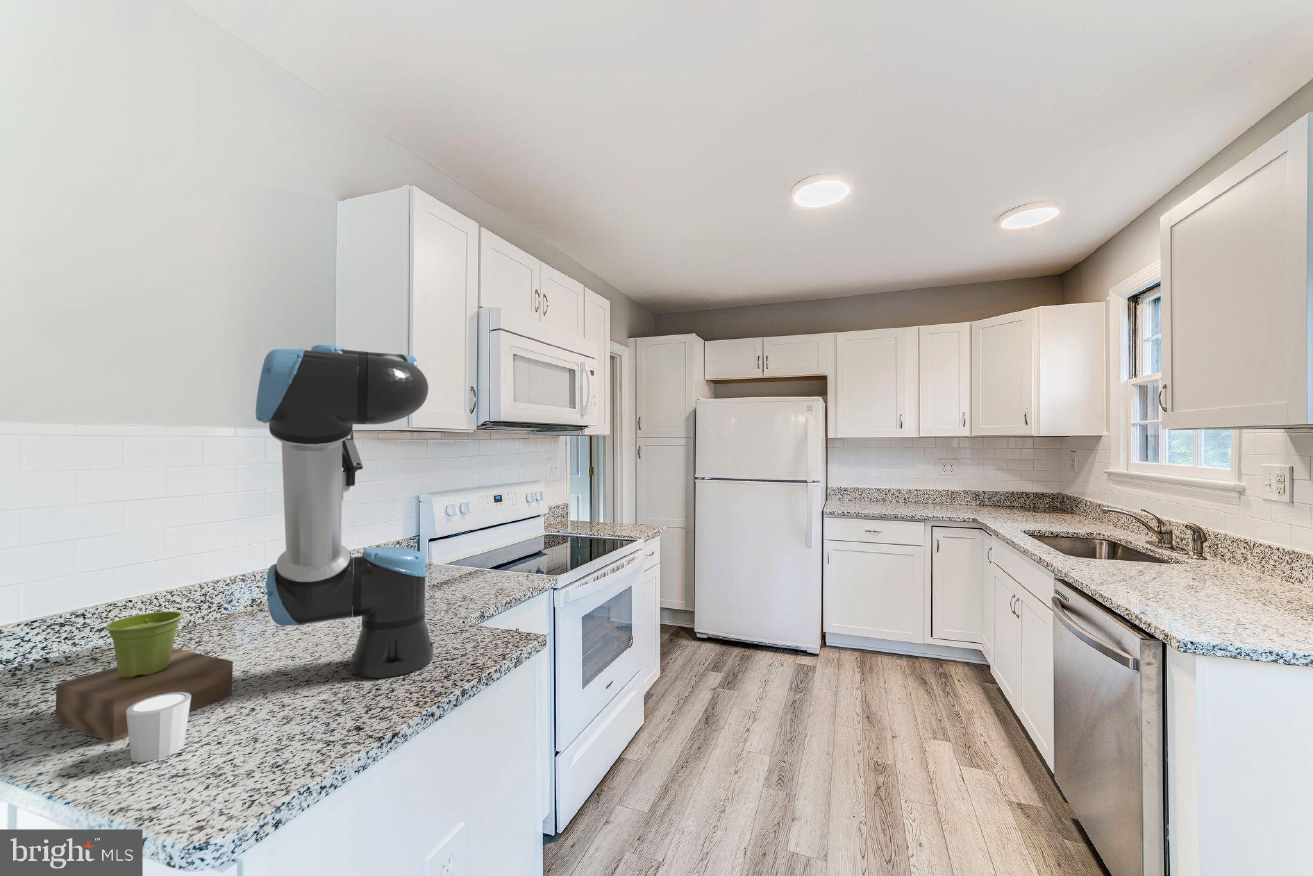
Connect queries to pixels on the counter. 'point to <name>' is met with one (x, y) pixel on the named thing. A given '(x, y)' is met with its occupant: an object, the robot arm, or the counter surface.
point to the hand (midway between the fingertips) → (326, 499)
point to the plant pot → (144, 642)
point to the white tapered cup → (158, 726)
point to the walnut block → (139, 692)
